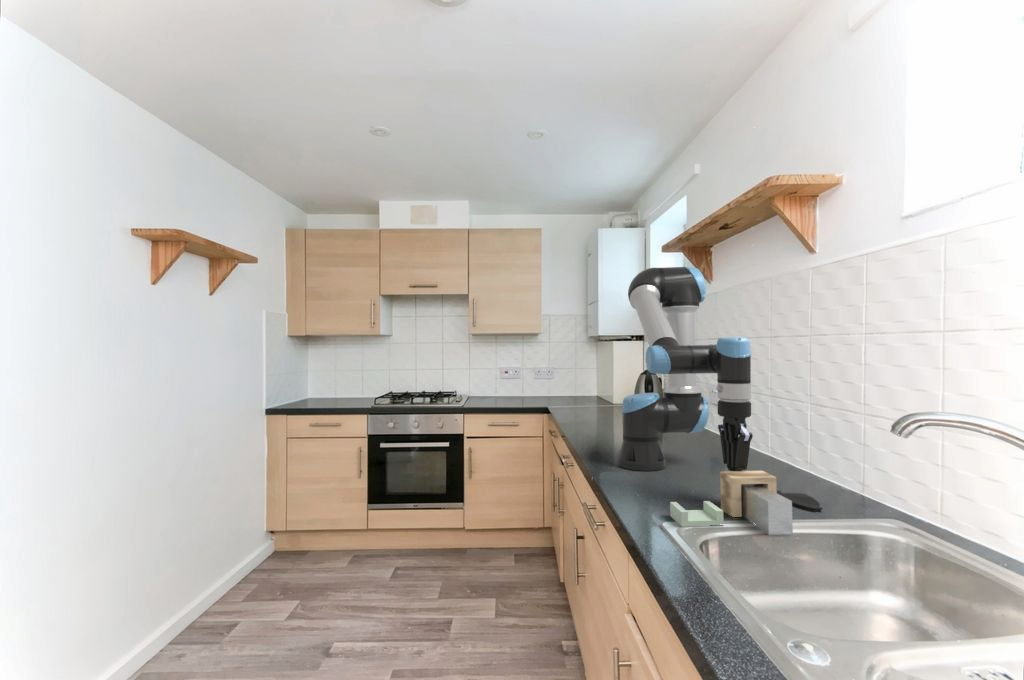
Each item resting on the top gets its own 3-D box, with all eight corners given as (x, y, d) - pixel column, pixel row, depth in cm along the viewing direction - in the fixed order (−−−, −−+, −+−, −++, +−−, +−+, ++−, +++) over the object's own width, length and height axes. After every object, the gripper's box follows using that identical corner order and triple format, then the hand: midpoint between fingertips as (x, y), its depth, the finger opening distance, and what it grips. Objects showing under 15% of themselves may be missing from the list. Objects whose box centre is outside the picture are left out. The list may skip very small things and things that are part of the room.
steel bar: (730, 508, 119) (729, 479, 120) (750, 508, 120) (750, 479, 120) (768, 535, 102) (768, 501, 103) (792, 535, 103) (791, 501, 103)
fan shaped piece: (793, 514, 116) (793, 507, 116) (771, 496, 130) (771, 490, 130) (831, 515, 115) (831, 508, 115) (806, 497, 128) (805, 491, 128)
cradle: (670, 515, 114) (670, 502, 114) (709, 514, 115) (709, 500, 115) (681, 527, 107) (681, 512, 107) (723, 525, 108) (723, 511, 108)
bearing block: (720, 509, 118) (720, 471, 119) (762, 508, 119) (762, 470, 119) (733, 518, 112) (732, 478, 113) (777, 516, 113) (776, 477, 113)
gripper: (707, 397, 128) (708, 488, 128) (731, 403, 115) (732, 505, 115) (736, 396, 128) (737, 488, 128) (763, 403, 116) (764, 504, 116)
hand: (735, 496), depth 122 cm, fingers closed
